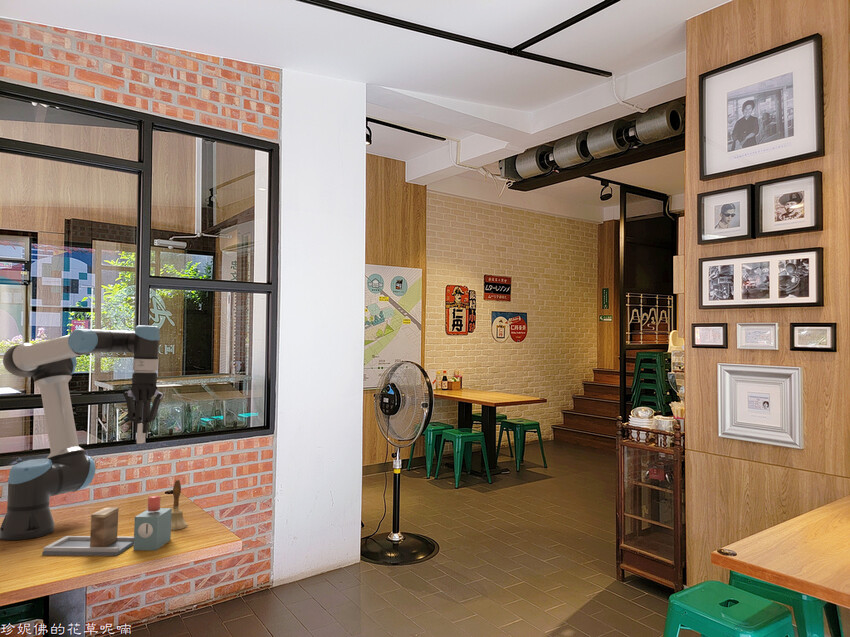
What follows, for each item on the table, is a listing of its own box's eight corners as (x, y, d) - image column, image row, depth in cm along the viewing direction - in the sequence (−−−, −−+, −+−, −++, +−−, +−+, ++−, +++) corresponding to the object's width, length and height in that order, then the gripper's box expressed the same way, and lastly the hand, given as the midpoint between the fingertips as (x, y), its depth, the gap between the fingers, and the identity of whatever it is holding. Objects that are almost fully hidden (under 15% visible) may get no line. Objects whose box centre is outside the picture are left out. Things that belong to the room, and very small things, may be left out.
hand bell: (179, 521, 206) (180, 476, 207) (192, 526, 201) (194, 479, 202) (156, 527, 199) (158, 480, 200) (170, 532, 195) (172, 484, 196)
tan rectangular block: (89, 548, 173) (91, 514, 174) (104, 540, 182) (105, 507, 182) (103, 548, 173) (104, 514, 174) (117, 540, 182) (118, 507, 182)
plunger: (145, 511, 180) (145, 498, 181) (150, 508, 184) (151, 495, 184) (156, 511, 180) (157, 498, 181) (162, 508, 184) (162, 495, 184)
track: (42, 555, 171) (42, 548, 171) (66, 541, 183) (67, 535, 183) (116, 555, 171) (116, 548, 172) (136, 542, 183) (136, 536, 184)
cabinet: (132, 550, 176) (133, 517, 176) (148, 539, 186) (150, 508, 187) (155, 551, 176) (156, 517, 176) (170, 539, 187) (171, 508, 187)
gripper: (119, 371, 190) (115, 444, 188) (159, 372, 189) (154, 445, 188) (131, 370, 197) (127, 440, 196) (169, 371, 197) (165, 441, 196)
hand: (140, 442), depth 192 cm, fingers closed
